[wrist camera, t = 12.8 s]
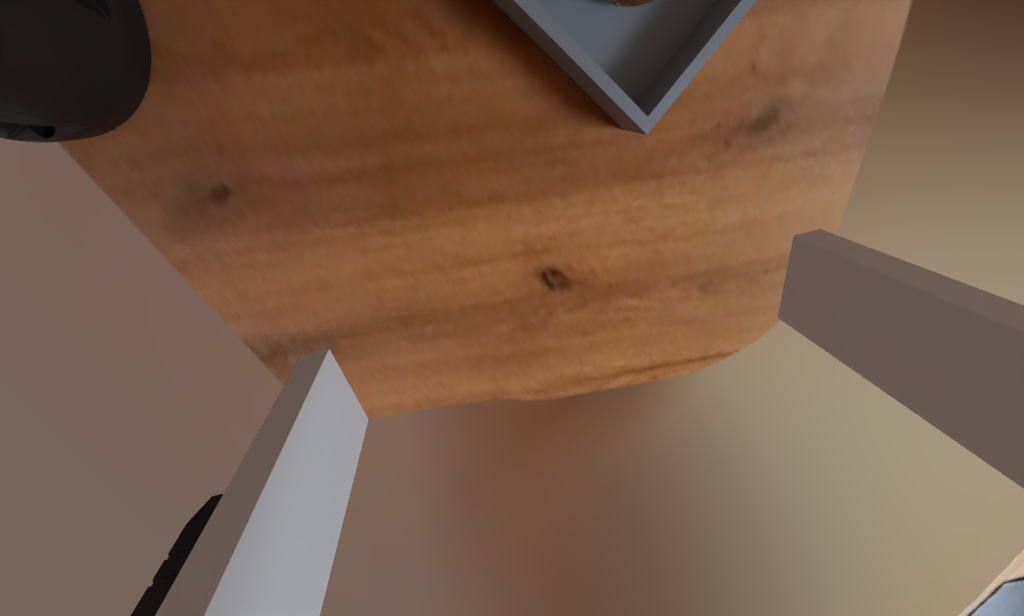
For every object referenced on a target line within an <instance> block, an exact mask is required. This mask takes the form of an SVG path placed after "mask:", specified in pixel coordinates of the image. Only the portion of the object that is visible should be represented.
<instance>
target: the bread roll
mask: <svg viewBox="0 0 1024 616" xmlns="http://www.w3.org/2000/svg"><path fill="white" fill-rule="evenodd" d="M606 1H609V2H611V3H614V4H615V6H616V7H618V6H623V7H634V6H640V5H643V4H646V3H649V2H652V1H654V0H606Z"/></svg>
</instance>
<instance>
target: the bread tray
mask: <svg viewBox="0 0 1024 616" xmlns="http://www.w3.org/2000/svg"><path fill="white" fill-rule="evenodd" d="M491 1H492V2H493V3H494V4H495V5H496V6H497V7H498V8H499V9H500V10H501V11H502V12H503V13H504V14H505V15H506V16H507V17H508V18H509V19H510V20H511V21H512V22H513V23H514V24H515V25H516V26H517V27H518V28H519V29H520V30H521V31H522V32H524V33H525V34H526V35H527V36H528V37H529V38H530V39H531V40H532V41H533V42H534V43H535V44H536V45H537V46H538V47H539V48H540V49H541V50H542V51H543V52H544V53H545V54H546V55H547V56H548V57H549V58H550V59H551V60H552V61H553V62H554V63H555V64H556V65H557V66H558V67H559V68H560V69H561V70H562V71H563V72H564V73H565V74H566V75H567V76H568V77H569V78H570V79H571V80H573V81H574V82H575V83H576V84H577V85H578V86H579V87H580V88H581V89H582V90H583V91H584V92H585V93H586V94H587V95H588V96H589V97H590V98H591V99H592V100H593V101H594V102H595V103H596V104H597V105H598V106H599V107H600V108H601V109H602V110H603V111H604V112H605V113H606V114H607V115H608V116H609V117H610V118H611V119H612V120H613V121H614V122H615V123H616V124H617V125H618V126H619V127H621V128H622V129H623V130H627V131H632V132H637V133H641V134H646V135H647V134H648V133H649V132H650V131H651V129H652V128H653V127H654V126H655V124H656V123H657V122H658V121H659V120H660V118H661V117H662V116H663V115H664V113H665V112H666V111H667V110H668V108H669V107H670V106H671V105H672V104H673V102H674V101H675V100H676V99H677V97H678V96H679V95H680V94H681V93H682V91H683V90H684V89H685V88H686V86H687V85H688V84H689V83H690V82H691V80H692V79H693V78H694V77H695V75H696V74H697V73H698V72H699V70H700V69H701V68H702V67H703V66H704V64H705V63H706V62H707V61H708V59H709V58H710V57H711V56H712V55H713V53H714V52H715V51H716V50H717V48H718V47H719V46H720V45H721V44H722V42H723V41H724V40H725V39H726V37H727V36H728V35H729V34H730V33H731V31H732V30H733V29H734V28H735V26H736V25H737V24H738V23H739V21H740V20H741V19H742V18H743V17H744V15H745V14H746V13H747V12H748V10H749V9H750V8H751V7H752V6H753V4H754V3H755V2H756V1H757V0H654V1H652V2H649V3H646V4H643V5H640V6H634V7H623V6H618V7H616V6H615V4H614V3H611V2H609V1H606V0H491Z"/></svg>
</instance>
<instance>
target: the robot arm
mask: <svg viewBox="0 0 1024 616" xmlns="http://www.w3.org/2000/svg"><path fill="white" fill-rule="evenodd" d="M150 68H151V51H150V42H149V36H148V31H147V26H146V22H145V19H144V15H143V12H142V9H141V7H140V4H139V1H138V0H0V138H5V139H10V140H17V141H26V142H59V141H68V140H77V139H84V138H91V137H95V136H99V135H102V134H105V133H107V132H109V131H112V130H114V129H115V128H117V127H119V126H120V125H121V124H123V123H124V122H125V121H127V120H128V119H129V118H130V117H131V116H132V115H133V113H134V112H135V111H136V110H137V108H138V107H139V105H140V103H141V101H142V99H143V98H144V95H145V92H146V90H147V86H148V82H149V77H150ZM778 318H779V319H780V320H782V321H783V322H785V323H786V324H788V325H789V326H790V327H792V328H793V329H795V330H796V331H798V332H799V333H800V334H802V335H803V336H805V337H806V338H808V339H809V340H811V341H812V342H813V343H815V344H816V345H818V346H819V347H821V348H822V349H824V350H825V351H826V352H828V353H829V354H831V355H832V356H834V357H835V358H837V359H838V360H839V361H841V362H843V363H844V364H845V365H847V366H848V367H849V368H851V369H852V370H854V371H855V372H857V373H858V374H860V375H861V376H863V377H864V378H865V379H867V380H868V381H870V382H871V383H873V384H874V385H875V386H877V387H878V388H880V389H881V390H883V391H884V392H886V393H887V394H888V395H890V396H891V397H893V398H894V399H896V400H897V401H899V402H900V403H901V404H903V405H904V406H906V407H907V408H909V409H910V410H911V411H913V412H914V413H916V414H917V415H919V416H920V417H922V418H923V419H924V420H926V421H927V422H929V423H930V424H932V425H933V426H935V427H936V428H937V429H939V430H940V431H942V432H943V433H945V434H946V435H947V436H949V437H950V438H952V439H953V440H955V441H956V442H958V443H959V444H960V445H962V446H963V447H965V448H966V449H968V450H969V451H971V452H972V453H973V454H975V455H977V456H978V457H979V458H981V459H982V460H984V461H985V462H986V463H988V464H989V465H991V466H992V467H994V468H995V469H997V470H998V471H999V472H1001V473H1002V474H1004V475H1005V476H1007V477H1008V478H1009V479H1011V480H1012V481H1014V482H1015V483H1017V484H1018V485H1020V486H1021V487H1022V488H1024V305H1021V304H1018V303H1015V302H1013V301H1010V300H1007V299H1005V298H1002V297H999V296H997V295H994V294H991V293H989V292H986V291H983V290H980V289H978V288H975V287H973V286H970V285H967V284H965V283H962V282H959V281H957V280H954V279H951V278H949V277H946V276H943V275H941V274H938V273H935V272H933V271H930V270H927V269H925V268H922V267H920V266H917V265H914V264H912V263H909V262H906V261H904V260H901V259H898V258H895V257H893V256H890V255H887V254H885V253H882V252H879V251H877V250H874V249H871V248H868V247H866V246H864V245H861V244H858V243H855V242H853V241H850V240H848V239H845V238H842V237H839V236H837V235H834V234H832V233H829V232H826V231H824V230H821V229H819V230H815V231H811V232H806V233H802V234H798V235H794V237H793V242H792V247H791V252H790V257H789V262H788V267H787V273H786V278H785V283H784V288H783V293H782V298H781V303H780V309H779V314H778ZM367 423H368V418H367V416H366V414H365V412H364V411H363V409H362V407H361V405H360V403H359V402H358V400H357V398H356V396H355V395H354V393H353V391H352V389H351V387H350V386H349V384H348V382H347V380H346V378H345V377H344V375H343V373H342V371H341V369H340V368H339V366H338V364H337V362H336V360H335V359H334V357H333V355H332V353H331V351H330V350H329V349H327V350H323V351H318V352H314V353H310V354H306V355H302V356H301V357H300V359H299V360H298V362H297V364H296V366H295V368H294V369H293V371H292V373H291V375H290V377H289V378H288V380H287V382H286V384H285V385H284V387H283V389H282V391H281V393H280V394H279V396H278V398H277V400H276V401H275V403H274V405H273V407H272V409H271V410H270V412H269V414H268V416H267V417H266V419H265V421H264V423H263V425H262V426H261V428H260V430H259V432H258V433H257V435H256V437H255V439H254V441H253V442H252V444H251V446H250V448H249V449H248V451H247V453H246V455H245V457H244V458H243V460H242V462H241V464H240V466H239V467H238V469H237V471H236V473H235V474H234V476H233V478H232V480H231V482H230V483H229V485H228V487H227V489H226V490H225V492H224V494H220V495H216V496H212V497H211V498H210V499H209V500H208V501H207V502H206V503H205V504H204V506H203V507H202V508H201V509H200V510H199V511H198V512H197V513H196V514H195V515H194V517H193V518H192V519H191V520H190V521H189V522H188V523H187V524H186V526H185V528H184V529H183V531H182V532H181V534H180V536H179V537H178V539H177V540H176V542H175V544H174V545H173V547H172V549H171V550H170V552H169V554H168V555H169V558H168V559H167V560H164V562H163V564H162V565H161V567H160V568H159V570H158V572H157V573H156V575H155V577H154V579H153V585H152V586H151V587H148V588H147V590H146V591H145V593H144V595H143V597H142V598H141V600H140V601H139V603H138V605H137V606H136V608H135V609H134V611H133V613H132V614H131V616H320V612H321V608H322V604H323V600H324V596H325V592H326V588H327V584H328V580H329V576H330V572H331V568H332V564H333V560H334V556H335V551H336V548H337V544H338V540H339V536H340V532H341V528H342V524H343V520H344V516H345V511H346V508H347V504H348V499H349V495H350V491H351V487H352V483H353V479H354V475H355V471H356V467H357V463H358V459H359V455H360V451H361V447H362V443H363V439H364V435H365V431H366V427H367Z"/></svg>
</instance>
